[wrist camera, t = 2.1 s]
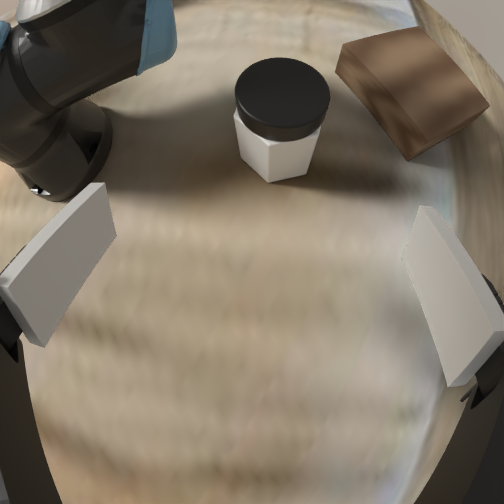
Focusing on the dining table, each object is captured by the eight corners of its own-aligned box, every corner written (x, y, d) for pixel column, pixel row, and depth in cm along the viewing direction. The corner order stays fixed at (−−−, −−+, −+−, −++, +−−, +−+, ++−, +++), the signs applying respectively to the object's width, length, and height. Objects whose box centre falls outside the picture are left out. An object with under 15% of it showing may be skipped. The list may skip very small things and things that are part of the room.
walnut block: (334, 72, 36) (342, 44, 30) (406, 49, 37) (418, 26, 31) (407, 161, 34) (427, 140, 28) (470, 124, 35) (490, 105, 29)
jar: (328, 153, 35) (353, 95, 23) (281, 197, 34) (289, 149, 22) (275, 108, 36) (277, 42, 24) (227, 147, 35) (211, 86, 23)
